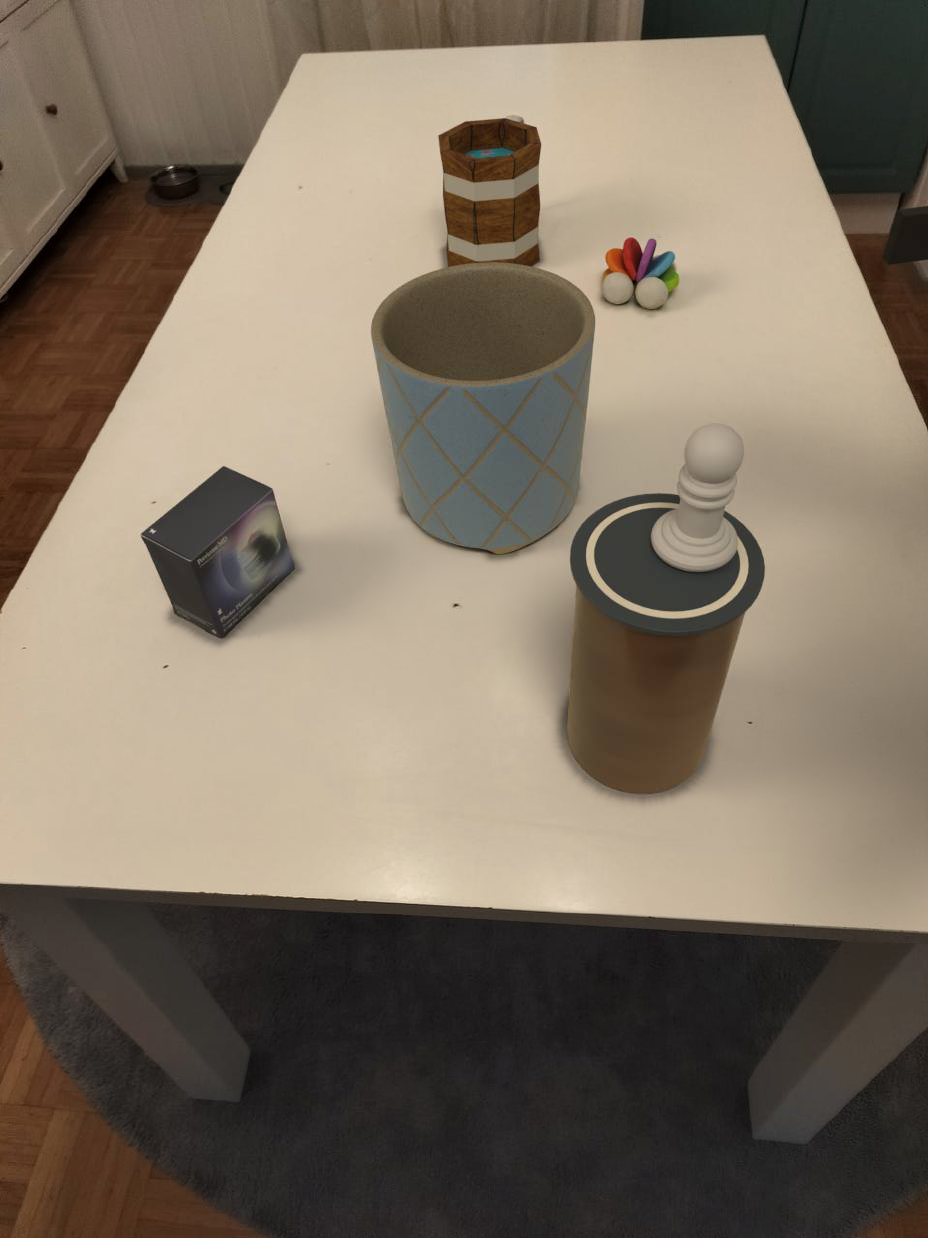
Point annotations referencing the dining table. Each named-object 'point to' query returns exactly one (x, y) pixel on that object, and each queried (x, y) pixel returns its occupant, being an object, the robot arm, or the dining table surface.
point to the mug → (491, 191)
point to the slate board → (659, 572)
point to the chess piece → (702, 503)
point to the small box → (220, 550)
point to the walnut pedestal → (643, 699)
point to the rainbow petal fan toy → (639, 274)
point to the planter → (486, 399)
